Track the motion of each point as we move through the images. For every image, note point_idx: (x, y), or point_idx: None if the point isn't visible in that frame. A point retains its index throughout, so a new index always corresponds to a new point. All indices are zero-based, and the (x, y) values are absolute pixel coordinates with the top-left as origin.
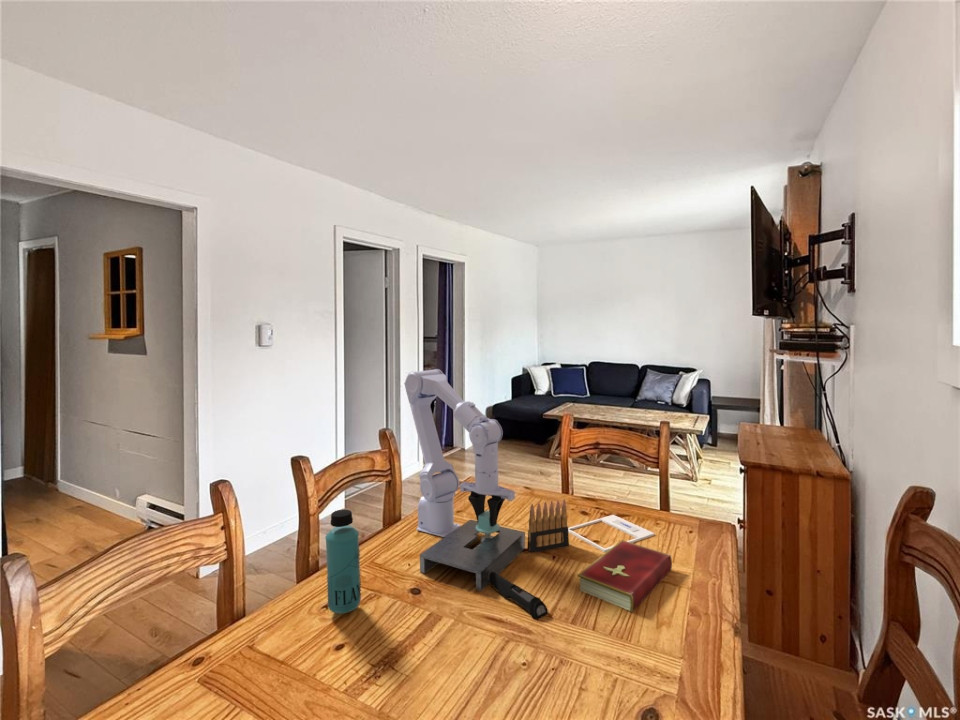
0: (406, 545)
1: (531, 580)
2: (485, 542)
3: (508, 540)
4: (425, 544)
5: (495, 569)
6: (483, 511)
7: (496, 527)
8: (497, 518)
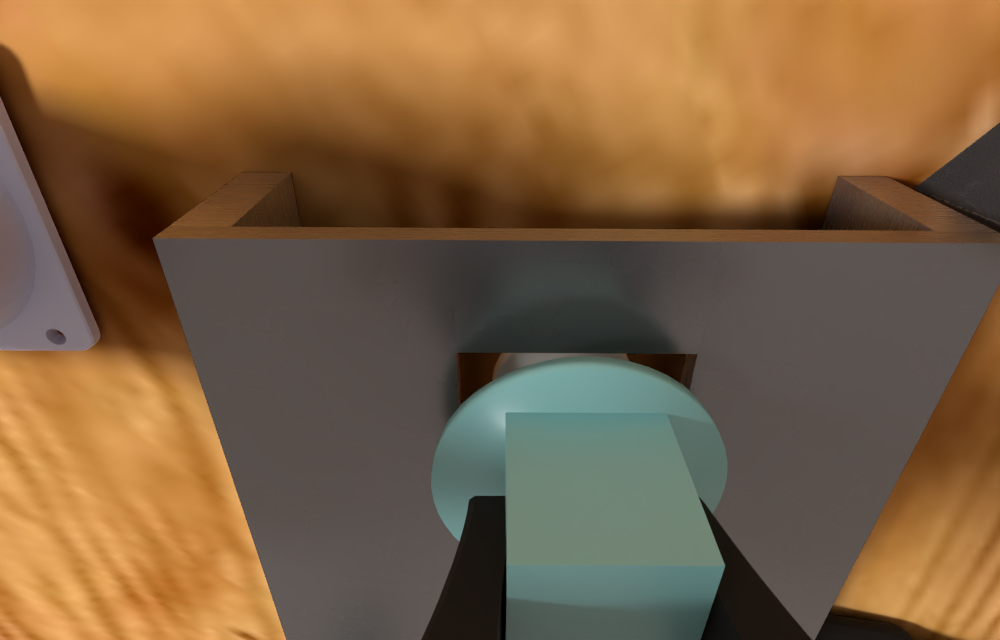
0: (18, 522)
1: (962, 524)
2: None
3: (835, 480)
4: (98, 468)
5: None
6: (499, 622)
7: (688, 466)
8: (738, 549)
